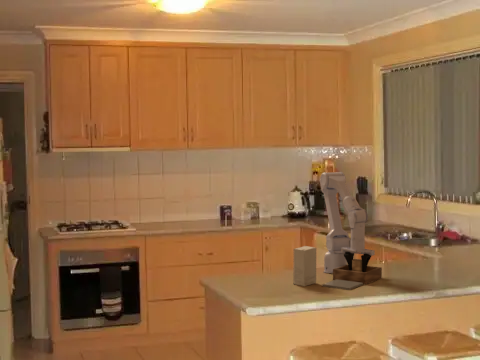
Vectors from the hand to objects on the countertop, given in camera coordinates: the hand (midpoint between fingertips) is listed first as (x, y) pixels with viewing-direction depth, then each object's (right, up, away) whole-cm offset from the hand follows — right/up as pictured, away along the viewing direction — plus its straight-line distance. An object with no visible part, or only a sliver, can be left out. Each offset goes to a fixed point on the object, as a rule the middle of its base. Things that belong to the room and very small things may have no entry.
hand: (357, 270), depth 306 cm
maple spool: (0, -1, 0) cm, 1 cm away
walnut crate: (0, -3, 0) cm, 3 cm away
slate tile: (-8, -4, -13) cm, 15 cm away
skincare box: (-23, -4, -9) cm, 25 cm away
